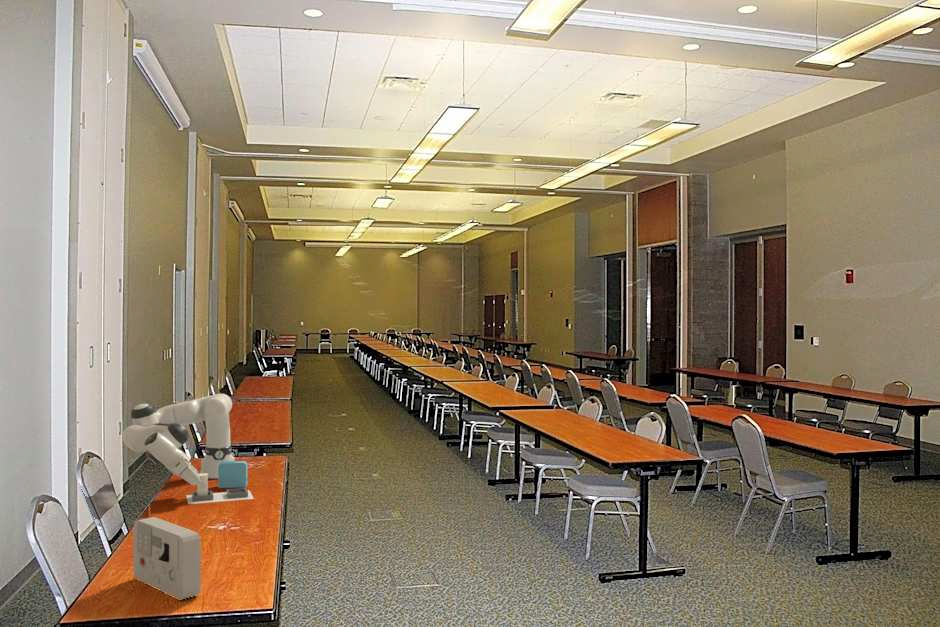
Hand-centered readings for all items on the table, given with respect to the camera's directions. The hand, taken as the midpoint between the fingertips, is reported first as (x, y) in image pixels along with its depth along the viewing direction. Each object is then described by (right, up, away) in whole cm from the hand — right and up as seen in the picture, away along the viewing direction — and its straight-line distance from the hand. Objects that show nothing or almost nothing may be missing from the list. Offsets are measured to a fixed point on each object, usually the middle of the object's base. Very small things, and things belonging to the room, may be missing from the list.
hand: (204, 485), depth 323 cm
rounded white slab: (+24, -7, -101) cm, 104 cm away
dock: (+6, -6, +2) cm, 9 cm away
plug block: (-1, -5, 0) cm, 5 cm away
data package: (+5, -7, +22) cm, 23 cm away
